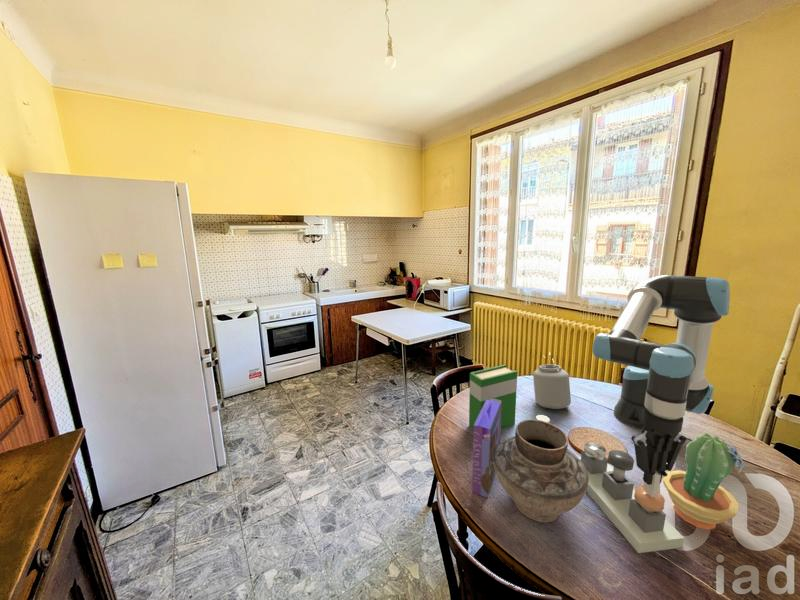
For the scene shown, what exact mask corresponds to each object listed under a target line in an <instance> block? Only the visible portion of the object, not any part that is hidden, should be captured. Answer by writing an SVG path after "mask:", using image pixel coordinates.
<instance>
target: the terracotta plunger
mask: <svg viewBox="0 0 800 600" xmlns="http://www.w3.org/2000/svg"><path fill="white" fill-rule="evenodd" d="M643 486H644V485H639V486H636V487H635V488H634V489H635V495H634V497H635V500H636V501H637V502H638V503H639V504H640V505H641V508H642V509H643V510H644V511H645V512H646V513H647V514H648V513H654V511H657V512H658V511H663V510H664V508H665V501H666V500H665V498H664V495H662V493H660V492H659V491H658V496H657V497H653V498H652V497H651V496H650V495H649V494H648V493H647V492H646V491H644V490H643Z"/></svg>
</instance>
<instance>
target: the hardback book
mask: <svg viewBox="0 0 800 600" xmlns="http://www.w3.org/2000/svg"><path fill="white" fill-rule="evenodd" d="M517 384H518V370H511V369H509V367H508V368H507V364H502V365H501V364H500V365H498V366H497V365H496V366H493V367H492V366H491V367H488V368H484V369H480V370H476V371H471V372H469V407H468V409H469V411H468V412H469V413H468V415H469V417H468V420H469V423H468V425H469V427H470V428H471V429H472V430H473V431H474V424H475V422H476V419H477V417H478V415H479V413H480V411H481V409H482V407H483V405H484V403H485V401H486V399H487V398H494V399H498V400H501V401H502V405H501V430H502V429H504V428H508V427H511V426H514V425H516V407H517V387H518V385H517Z"/></svg>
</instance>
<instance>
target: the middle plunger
mask: <svg viewBox="0 0 800 600" xmlns="http://www.w3.org/2000/svg"><path fill="white" fill-rule="evenodd" d="M607 459H608V464H609V465H610V466H611V467H613V478H614V479H615V480H617V481H624V478H625V476H626V472H627V471H632V470H633V469H634V466H635V465H634V463H635V460H634V458H633V457H632V456H631V455H630V454H629V453H627V452H626V451H625V452H624V451H623V450H617V449H611V450H610V451H609V452H608V456H607Z"/></svg>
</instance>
